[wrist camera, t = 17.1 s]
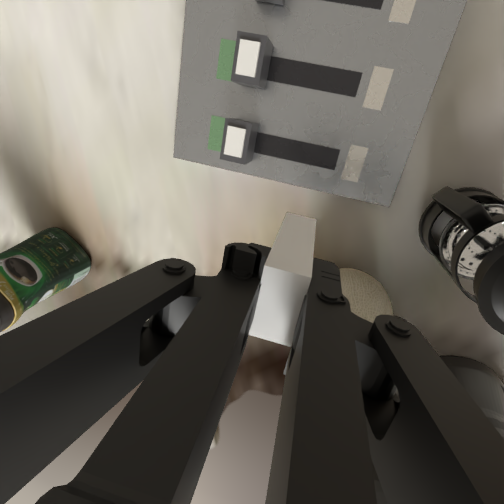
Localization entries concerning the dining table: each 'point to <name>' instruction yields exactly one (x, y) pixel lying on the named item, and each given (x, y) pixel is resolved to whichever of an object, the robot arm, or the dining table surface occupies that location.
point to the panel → (316, 88)
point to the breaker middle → (251, 60)
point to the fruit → (364, 294)
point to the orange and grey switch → (273, 1)
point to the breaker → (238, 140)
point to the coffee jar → (38, 272)
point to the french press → (471, 245)
